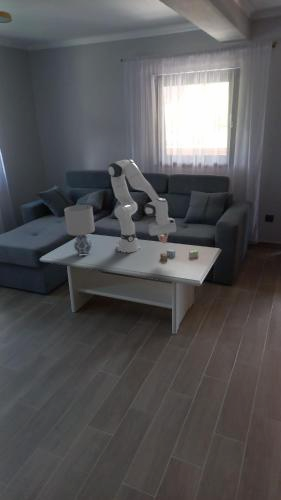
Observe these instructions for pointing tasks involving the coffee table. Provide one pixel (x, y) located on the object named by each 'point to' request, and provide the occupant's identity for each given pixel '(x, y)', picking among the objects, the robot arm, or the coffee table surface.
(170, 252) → the slate blue brick
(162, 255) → the walnut brick
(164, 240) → the terracotta brick
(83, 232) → the lamp
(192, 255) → the olive brick
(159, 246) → the coffee table surface
